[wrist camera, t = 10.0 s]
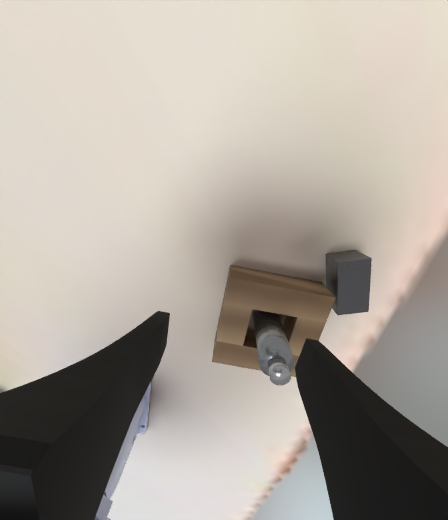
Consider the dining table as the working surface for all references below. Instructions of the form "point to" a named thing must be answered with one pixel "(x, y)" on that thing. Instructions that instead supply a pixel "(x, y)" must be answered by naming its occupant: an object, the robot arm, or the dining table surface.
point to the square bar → (349, 281)
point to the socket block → (270, 300)
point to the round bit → (273, 347)
